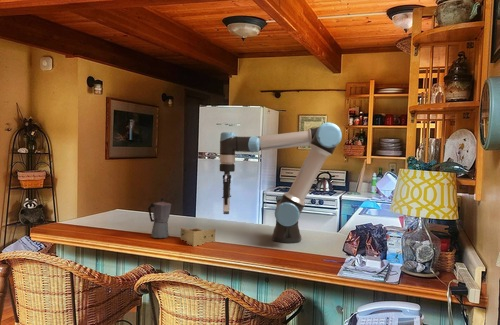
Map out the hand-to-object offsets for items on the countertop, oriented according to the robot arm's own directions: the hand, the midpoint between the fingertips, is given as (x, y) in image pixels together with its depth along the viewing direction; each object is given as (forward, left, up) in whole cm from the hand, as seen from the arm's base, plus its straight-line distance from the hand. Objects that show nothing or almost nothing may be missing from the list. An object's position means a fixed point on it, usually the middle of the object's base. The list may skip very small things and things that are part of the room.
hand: (226, 210), depth 200 cm
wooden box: (+11, +10, -16) cm, 22 cm away
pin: (0, 0, -2) cm, 2 cm away
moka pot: (+29, +20, -16) cm, 39 cm away
